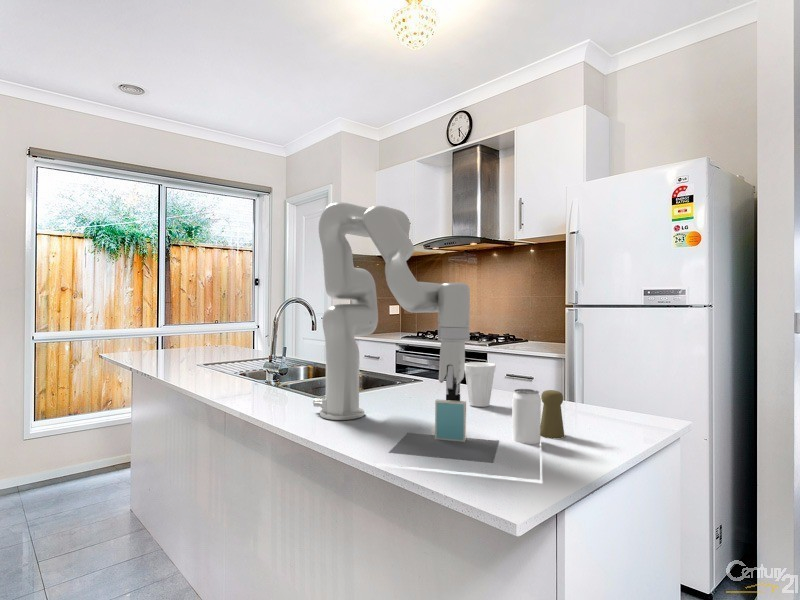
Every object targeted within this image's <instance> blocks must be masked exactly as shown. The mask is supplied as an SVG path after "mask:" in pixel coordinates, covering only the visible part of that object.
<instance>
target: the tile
mask: <svg viewBox="0 0 800 600" xmlns="http://www.w3.org/2000/svg"><path fill="white" fill-rule="evenodd" d="M434 405H435V407H434V408H435V409H434V416H435V417H434V420H435V421H434V435H435V439H439V440H450V441H461V442H465V441H466V438H467V401H466V400H465V401H464V400H460V401H453V400H446V399H436V400H435V403H434Z"/></svg>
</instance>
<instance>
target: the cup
mask: <svg viewBox="0 0 800 600" xmlns="http://www.w3.org/2000/svg"><path fill="white" fill-rule="evenodd" d="M495 372H496V363H492V362H491V363H490V362H483V361H482V362H480V361H473V362H472V361H471V362H470V361H469V362H465V370H464V376H465V381H466V389H467V396H468V397H467V398H468V404H469V406H472V407H479V408H480V407H488V406H490V403H491V397H492V396H491V395H492V390H493V383H494V382H493V381H494V378H495V377H494V376H495Z"/></svg>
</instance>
